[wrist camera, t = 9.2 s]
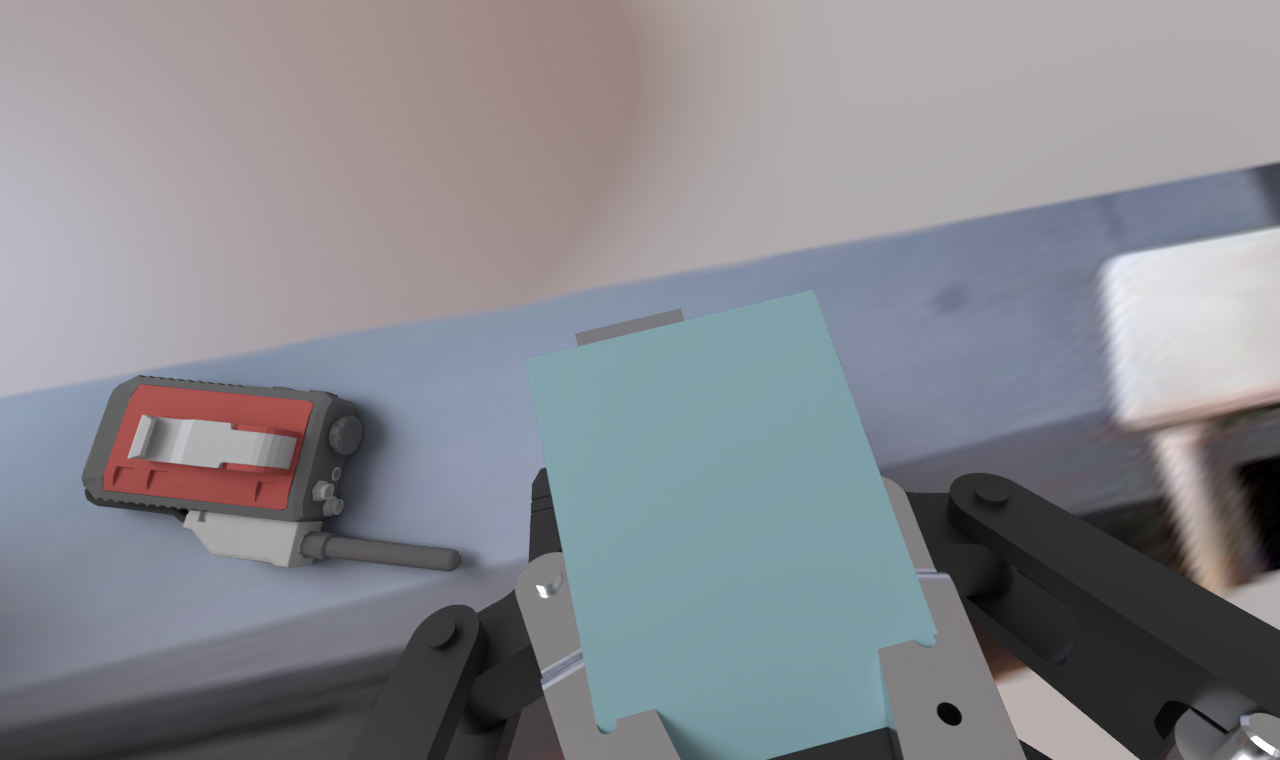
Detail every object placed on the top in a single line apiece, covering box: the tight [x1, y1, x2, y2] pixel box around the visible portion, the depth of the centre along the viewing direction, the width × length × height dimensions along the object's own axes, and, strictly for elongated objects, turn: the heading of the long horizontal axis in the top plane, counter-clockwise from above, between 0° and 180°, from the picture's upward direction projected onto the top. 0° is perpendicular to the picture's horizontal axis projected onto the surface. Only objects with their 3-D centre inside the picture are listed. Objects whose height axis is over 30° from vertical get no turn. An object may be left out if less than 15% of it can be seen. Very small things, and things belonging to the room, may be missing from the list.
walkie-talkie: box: [82, 375, 461, 571], centre depth 26 cm, size 9×4×20 cm
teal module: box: [525, 290, 937, 760], centre depth 12 cm, size 4×6×11 cm
